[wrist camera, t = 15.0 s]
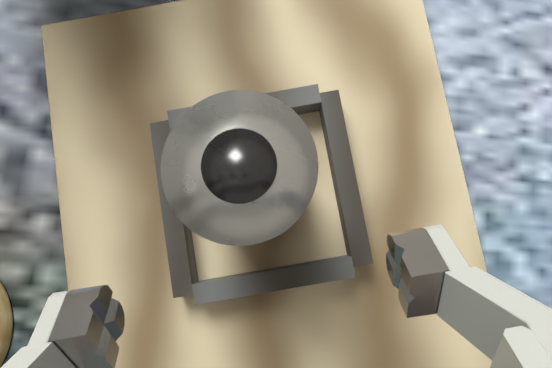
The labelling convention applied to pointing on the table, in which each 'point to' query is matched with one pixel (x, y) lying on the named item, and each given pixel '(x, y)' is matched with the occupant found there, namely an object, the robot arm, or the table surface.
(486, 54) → the table surface
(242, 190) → the sleeve
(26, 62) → the table surface
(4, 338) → the hand bell
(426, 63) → the hub board
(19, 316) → the table surface
